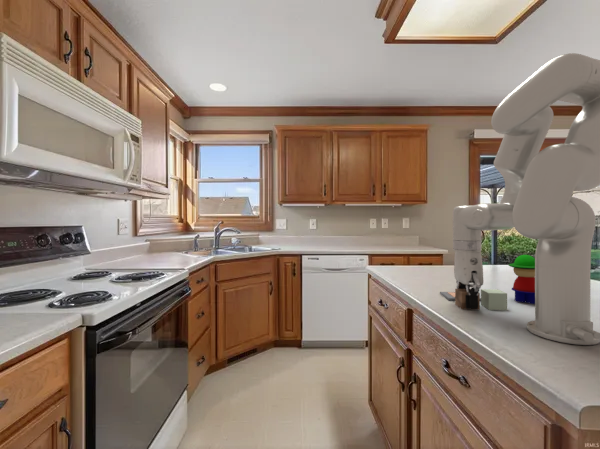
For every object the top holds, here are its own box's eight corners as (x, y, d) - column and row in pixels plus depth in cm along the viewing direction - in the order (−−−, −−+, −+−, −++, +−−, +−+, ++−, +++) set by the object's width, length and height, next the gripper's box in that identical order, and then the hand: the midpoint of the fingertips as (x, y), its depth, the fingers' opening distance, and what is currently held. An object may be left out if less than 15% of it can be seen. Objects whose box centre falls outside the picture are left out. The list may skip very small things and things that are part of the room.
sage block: (507, 310, 87) (507, 293, 87) (488, 310, 88) (488, 293, 88) (498, 305, 92) (498, 289, 92) (480, 305, 93) (480, 289, 92)
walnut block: (479, 309, 88) (479, 292, 88) (461, 309, 89) (461, 292, 89) (472, 305, 93) (472, 289, 93) (455, 304, 94) (455, 288, 93)
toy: (504, 300, 97) (504, 254, 96) (513, 296, 102) (512, 252, 102) (539, 306, 90) (539, 257, 89) (546, 301, 95) (546, 254, 95)
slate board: (481, 301, 96) (481, 298, 96) (449, 300, 98) (449, 297, 98) (469, 294, 105) (469, 291, 105) (440, 294, 106) (439, 291, 106)
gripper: (494, 249, 81) (494, 314, 82) (468, 243, 99) (468, 298, 99) (465, 249, 82) (465, 313, 83) (444, 244, 100) (444, 297, 100)
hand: (467, 304), depth 91 cm, fingers open, 5 cm apart
